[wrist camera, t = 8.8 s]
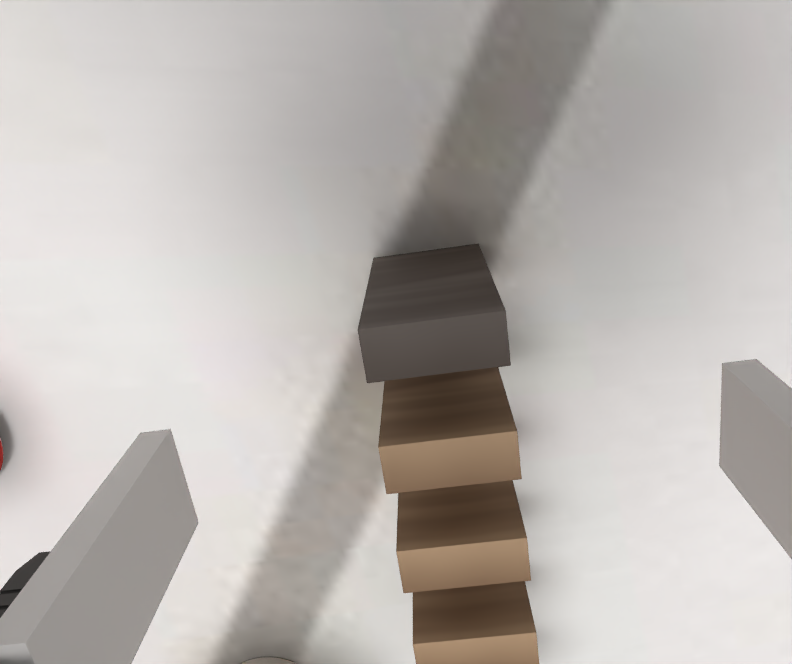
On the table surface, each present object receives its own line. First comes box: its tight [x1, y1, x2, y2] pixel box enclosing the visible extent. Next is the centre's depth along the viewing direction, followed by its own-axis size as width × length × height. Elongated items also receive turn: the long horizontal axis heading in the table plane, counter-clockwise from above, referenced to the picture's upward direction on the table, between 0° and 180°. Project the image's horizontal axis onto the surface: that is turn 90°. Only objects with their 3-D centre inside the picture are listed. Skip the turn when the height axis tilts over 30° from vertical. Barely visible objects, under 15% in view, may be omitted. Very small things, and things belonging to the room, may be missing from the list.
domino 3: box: [413, 581, 539, 664], centre depth 32 cm, size 2×5×10 cm, turn 98°
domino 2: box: [396, 480, 531, 593], centre depth 31 cm, size 2×5×10 cm, turn 98°
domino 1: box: [378, 367, 522, 494], centre depth 29 cm, size 2×5×10 cm, turn 98°
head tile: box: [358, 244, 511, 383], centre depth 28 cm, size 2×5×10 cm, turn 98°
